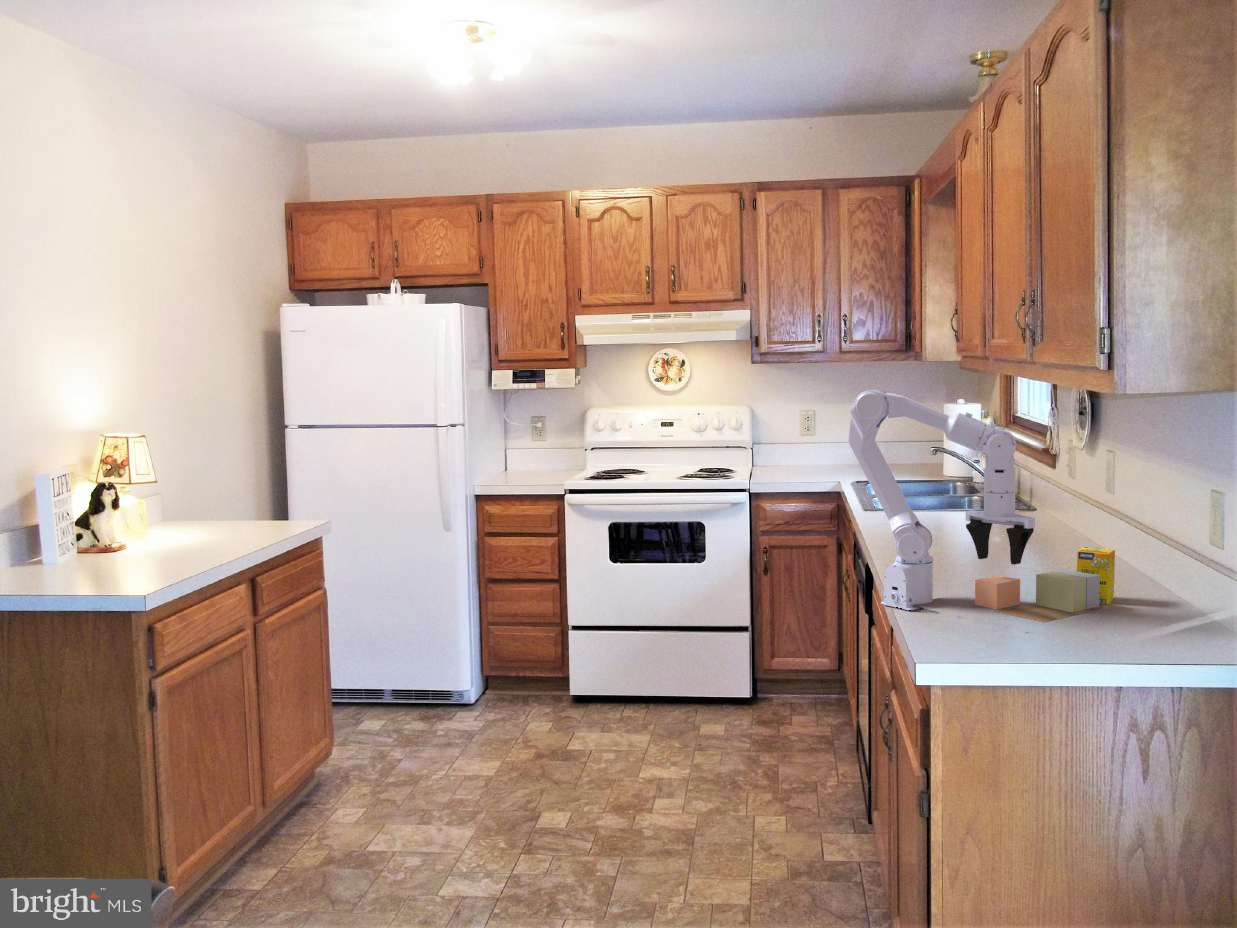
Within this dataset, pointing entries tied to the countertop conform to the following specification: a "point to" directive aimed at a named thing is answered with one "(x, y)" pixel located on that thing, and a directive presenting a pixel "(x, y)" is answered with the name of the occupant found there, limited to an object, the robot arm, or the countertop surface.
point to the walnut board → (1042, 612)
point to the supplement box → (1099, 569)
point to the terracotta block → (997, 592)
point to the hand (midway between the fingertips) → (999, 561)
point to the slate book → (1087, 586)
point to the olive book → (1061, 591)
